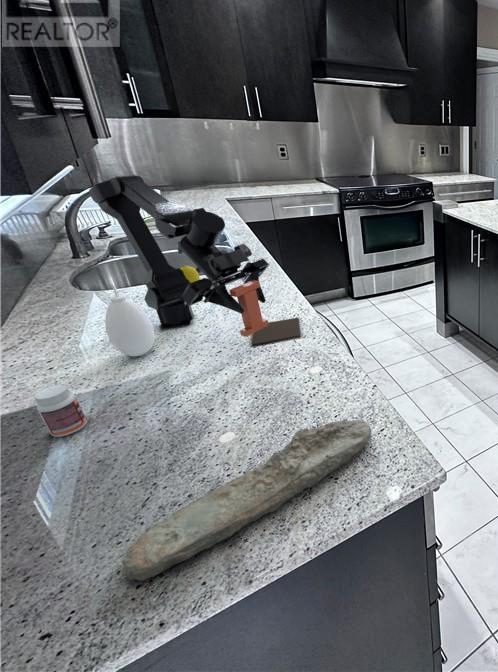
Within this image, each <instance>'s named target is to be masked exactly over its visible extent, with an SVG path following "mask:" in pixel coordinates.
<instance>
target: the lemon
mask: <svg viewBox="0 0 498 672" xmlns="http://www.w3.org/2000/svg"><path fill="white" fill-rule="evenodd" d="M179 268H180V267H179ZM180 269H181V270H182V271H183V273H184V275H185V277H186V278H187V279H188V280H189V281H190V282H191V283H192V282H195V281H197V280H200V278H201V277H200V273H198V272H197V271H196V269H197V268H195V267H193V266H189V265H183V266H181V268H180Z"/></svg>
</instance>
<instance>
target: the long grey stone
mask: <svg viewBox="0 0 498 672" xmlns="http://www.w3.org/2000/svg"><path fill="white" fill-rule="evenodd" d="M371 438H372V428H371V426H370V425H369V423H368V422H366V420H361V419H354V420H353V419H352V420H347V419H343V420H337V421H330V422H327V423H325V424H323V425H321V426H320V425H319V426H317V427H314V428H310V429H308V428H306V427H305V428H302V429H301V428H300V429H298V430H297V431H296V432H295V433H294V434H293V436H292V437H291V440H290V441H289V442H288V443H287V444H286V445H285V446H284V447H283V449H281V450H279V451H277V452H274V454H272V455H271V456H270V458H269V459H268V460H267V461H266V462H265V463H264V464H261V465H259V466H257V467H256V468H254V469H253V470H250V471H248V472H245V473H243V475H240V476H238V477H236V478H234V479H232V480H230V481H227V482H226V483H225V484H224V485H223V486H221V487H219V488H217V489H215V490H212V491H210V492H208V493H207V494H206V495H203V496H201V497H199V498H198V499H196V500H195V502H192V503H191V504H187V505H186V506H184V507H182V508H181V509H179V510H177V511H175V512H174V514H173V515H171V516H169V517H167V518H166V519H164V520H162V521H159V522H157V523H154V524H153V525H152V526H151V525H150V526H148V527H146V528H145V531H144V532H143V533H142V534H141V535H140V536H139V537H138V538H137V539H136V540H134V541H133V542H132V543H131V544H130V545H129V547H127V551H126V553H125V555H124V557H123V559H122V560H121V563H122V565H123V574H124V575H125V576H126V578H127V580H129V581H138V582H142V581H143V582H144V581H147V580H148V579H150V578H154V577H155V576H158V575H159V574H162V573H163V572H164V571H166V570H168V569H169V568H171V567H173V566H175V565H177V564H180V563H183V562H184V561H186V560H190V559H191V558H192V557H193V556H195V555H197V554H198V553H199V552H202V551H204V550H208V549H210V548H211V547H213V546H214V545H216V544H217V543H220V542H222V541H224V540H226V539H228V538H230V537H232V536H233V535H234V534H235V533H237V532H239V531H240V530H241V529H242V528H243V527H245V526H247V525H250V524H251V523H252V522H253V523H254V522H256V521H257V520H259V519H261V517H263V516H265V515H267V514H269V513H273V512H275V511H277V510H278V509H279V508H280V507H281V506H282V505H283V504H285V503H286V502H287V501H289V500H290V499H292V498H294V497H296V495H298V494H300V493H302V492H303V490H305V489H307V488H308V489H309V488H312V487H313V486H315V484H317V483H319V482H320V481H321V480H322V479H323V478H326V476H328V475H330V474H332V472H334V471H335V470H337V469H338V468H339V467H341V466H343V465H345V464H346V463H348V462H349V461H351V459H352V457H354V456H355V455H357V453H359V452H360V451H361V450H363V448H365V446H366V445H367V444H368V443H370V439H371Z"/></svg>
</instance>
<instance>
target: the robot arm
mask: <svg viewBox="0 0 498 672" xmlns="http://www.w3.org/2000/svg"><path fill="white" fill-rule="evenodd" d="M89 195H90V198H91V199H92V201H93V202H94V203H95V204H97V205H98V207H99V208H100V210H101V211H102V212H103V213H105V214H107V215H108V216H110V217H112V218H113V219H115V220H116V221H117V222H118V224H119V226H120V227H121V229H122V231H123V232H124V235H125V236H126V237H127V239H128V242H129V243H130V244H131V247H132V248H133V250H134V252H135V253H136V255H137V257H138V258H139V260H140V263H142V265H143V267H144V269H145V271H146V273H147V274H146V278H145V279H146V280H145V286H146V289H147V290H146V293H145V296H144V298H143V300H144V301H145V302H144V303H146V306H147V307H148V308H151V309H153V310H155V311H156V314H157V317H158V320H159V322H160V325H159V329H160V330H166V329H167V330H168V329H174V328H179V327H185V326H190V325H191V323H192V321H193V320H194V317H195V314H194V311H193V307H192V306H193V305H195V304H197V303H200V302H203V303H204V304H207V303H210V304H214V305H217V306H220V307H223V308H226V309H228V310H230V311H233V312H236V313H239V314H242V313H243V312H244V309H243V308H242V307H241V305H240V304H239V303H238V300H236V299H235V297H234V296H231V295H230V292H228V289H227V285H229V284H231V283H234V282H236V281H239V280H240V281H242V285H243V284H245V283H248V282H250V281H252V280H256V281H259V282H260V279H259V278H260V277H261V276H262V275H263V273H264V272H265V271H266V270H267V269H268V267H269V266H270V264H269V262H268V261H266V259H264V258H262V257H258V258H255V259H252V260H250V259H249V258H250V257H251V256H252V255H253V253H252V251H251V249H250V247H249V246H247V245H246V244H245V243H241V244H238V245H236V246H234V247H233V250H230V251H229V252H228V251H227V250H225V249H222V250H220V249H219V248H218V247H217V246H216V244H217V243H218V242H219V239H220V238H221V236H222V233H223V232H224V230H225V228H226V222H225V220H224V218H223V217H222V216H220V215H218V214H216V213H214V212H211V211H207V210H205V208H204V207H198V208H194V209H191V208H189V207H187V206H185V205H184V204H183V205H182V204H177V203H173V202H171V201H169V200H168V199H167V198H165V197H164V196H163V195H162V194H160V193H159V192H158V191H156V190H155V189H153V188H152V187H151V186H149V185H148V184H147V183H146V182H145V181H144V179H143V178H142V177H141V176H140V175H136V174H125V175H116V176H114V177H111V178H110V179H109V180H105V181H101V182H95V183H93V185H92V187H90V188H89ZM141 210H143V211H144V212H145V213H147V214H148V215H149V216H150V217H152V219H154V223H155V224H154V225H155V228H156V229H157V230H158V232H159V233H160V234H161V235H163V236H164V237H166V238H167V239H170V240H171V239H177V238H180V241H177V245H178V246H177V252H178V254H180V255H182V254H185V256H187V257H188V258H189V260H190V261H191V262H192V263H193V264H194V265H195V266H196V268H195V269H196V271H197V272H198V274H201V273H202V274H203V275H204V276H206V277H203V278H201V279H200V280H197V281H195V282H192V283H191V282H190V281H189V280H188V279H187V278H186V277H185V275H184V273H183V271H182V270H181V269H180V267H179V268H176V267H174V266H172V265H170V263H169V262H168V260H167V258H166V256H165V254H164V253H163V251H162V249H161V248H160V246H159V244H158V242H157V240H156V239H155V237H154V235H153V234H152V232H151V230H150V229H149V227H148V225H147V222H146V221H145V219H144V218H143V216H142V215H141ZM181 237H182V238H181ZM242 263H246V264H245V265H244V266H243V268H242V269H240V268H241V267H242ZM238 269H240V270H238ZM255 290H256V293H257V297H258V302H259V303H262V304H265V303H266V301H267V300H266V297H265V295H264V292H263V289H262V287H261V285H260V287H259V288H257V289H255Z"/></svg>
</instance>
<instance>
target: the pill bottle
mask: <svg viewBox="0 0 498 672" xmlns="http://www.w3.org/2000/svg"><path fill="white" fill-rule="evenodd" d="M34 400H35V402H36V403H37V406H36V410H37V413H38V414H39V416H40V418H41V419H42V421H43V423H44V425H45V427H46V429H47V430H48V431H49V434H50V435H51V436H52V437H55V438H61V437H66V436H69V435H72V434H74V433H76V432H78V431H80V430H82V429H83V428H84V427H85V426H86V424H87V423H88V420H87V418H86V416H85V414H84V412H83V409H82V408H81V405H80V404H79V402H78V399H77V397H76V395H74V394H73V393H71V392H70V390H69V388H68V386H67V385H64V384H57V385H53V386H50V387H47V388H44V389H42V390H40V391H38V392H37V393H36V394H35V395H34Z"/></svg>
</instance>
